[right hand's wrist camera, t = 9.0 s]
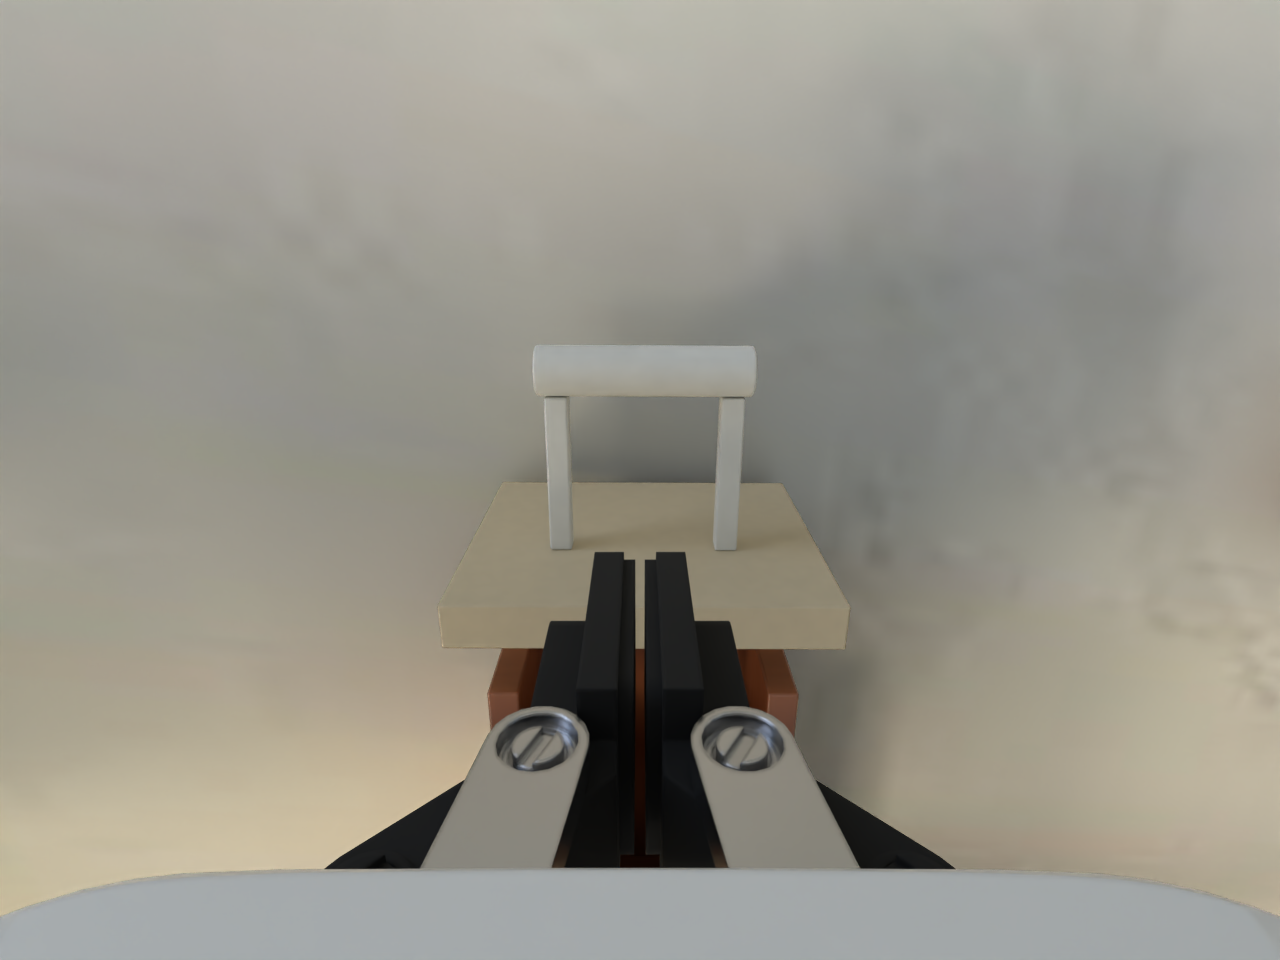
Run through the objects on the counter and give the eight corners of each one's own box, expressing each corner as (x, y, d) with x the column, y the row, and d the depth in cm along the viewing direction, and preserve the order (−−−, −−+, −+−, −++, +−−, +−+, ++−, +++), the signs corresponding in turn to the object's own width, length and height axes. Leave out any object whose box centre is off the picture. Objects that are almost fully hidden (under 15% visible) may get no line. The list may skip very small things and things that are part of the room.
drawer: (490, 318, 22) (409, 370, 14) (796, 319, 22) (882, 372, 14) (527, 844, 30) (488, 1063, 22) (752, 845, 30) (791, 1063, 22)
